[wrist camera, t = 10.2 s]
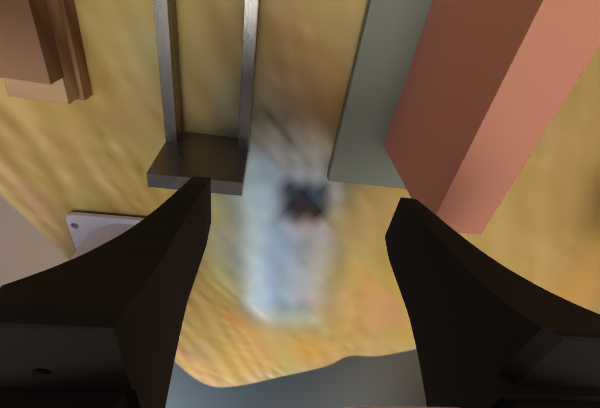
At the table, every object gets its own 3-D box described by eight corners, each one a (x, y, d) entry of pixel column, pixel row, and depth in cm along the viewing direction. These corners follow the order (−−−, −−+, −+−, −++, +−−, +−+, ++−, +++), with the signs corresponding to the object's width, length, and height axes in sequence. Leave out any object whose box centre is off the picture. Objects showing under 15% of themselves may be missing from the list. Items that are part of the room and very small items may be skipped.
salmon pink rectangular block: (421, 151, 21) (480, 234, 15) (383, 146, 21) (428, 229, 15) (498, -40, 16) (650, -37, 9) (448, -50, 15) (569, -54, 9)
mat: (442, 188, 24) (446, 193, 24) (327, 175, 23) (328, 180, 22) (588, -113, 15) (599, -115, 14) (405, -158, 14) (410, -162, 13)
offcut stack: (94, 93, 19) (61, 117, 16) (37, 85, 19) (-7, 108, 16) (59, -88, 15) (4, -99, 12) (-18, -104, 14) (-94, -119, 11)
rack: (249, 151, 22) (241, 195, 18) (173, 142, 21) (148, 186, 17) (270, -147, 14) (265, -189, 10) (149, -174, 13) (90, -232, 9)
